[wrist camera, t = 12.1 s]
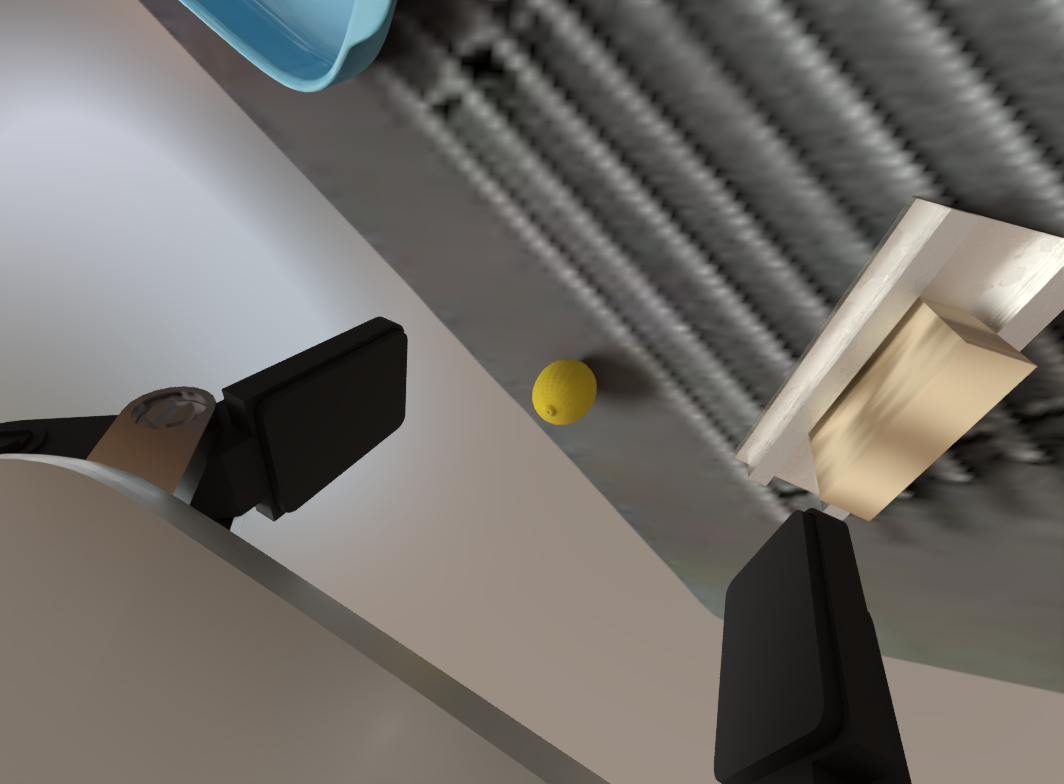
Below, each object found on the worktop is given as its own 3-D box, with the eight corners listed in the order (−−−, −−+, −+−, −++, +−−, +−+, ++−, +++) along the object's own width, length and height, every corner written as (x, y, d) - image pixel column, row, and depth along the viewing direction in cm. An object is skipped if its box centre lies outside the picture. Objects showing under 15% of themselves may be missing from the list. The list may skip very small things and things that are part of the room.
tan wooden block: (917, 296, 27) (966, 342, 21) (970, 313, 26) (1037, 366, 20) (808, 433, 34) (820, 499, 28) (848, 450, 33) (869, 521, 27)
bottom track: (910, 196, 26) (927, 202, 23) (1106, 249, 24) (1148, 262, 21) (735, 450, 39) (733, 471, 36) (850, 501, 36) (857, 527, 34)
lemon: (616, 365, 40) (590, 407, 33) (591, 406, 43) (563, 451, 37) (566, 335, 40) (532, 371, 34) (545, 378, 44) (510, 417, 37)
